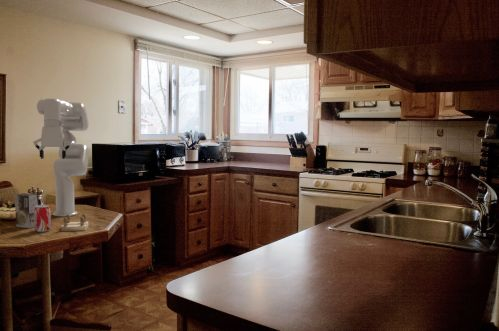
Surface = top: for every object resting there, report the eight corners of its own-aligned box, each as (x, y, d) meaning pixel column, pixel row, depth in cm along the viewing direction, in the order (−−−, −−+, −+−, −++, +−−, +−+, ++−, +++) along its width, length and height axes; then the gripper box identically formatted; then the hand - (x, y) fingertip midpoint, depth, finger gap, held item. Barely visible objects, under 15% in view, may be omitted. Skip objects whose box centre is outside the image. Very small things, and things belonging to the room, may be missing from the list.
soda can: (46, 232, 195) (45, 207, 194) (31, 232, 195) (30, 207, 194) (53, 229, 202) (53, 204, 201) (39, 228, 202) (38, 204, 201)
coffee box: (40, 225, 209) (39, 193, 207) (29, 228, 203) (28, 195, 201) (26, 224, 212) (25, 192, 210) (15, 226, 206) (14, 194, 204)
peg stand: (65, 225, 209) (64, 214, 209) (88, 225, 212) (88, 213, 211) (61, 231, 199) (60, 218, 198) (85, 230, 201) (85, 217, 201)
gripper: (72, 124, 212) (72, 158, 213) (35, 123, 208) (35, 158, 208) (70, 124, 205) (70, 159, 206) (31, 123, 200) (31, 159, 201)
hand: (53, 158), depth 207 cm, fingers open, 9 cm apart
